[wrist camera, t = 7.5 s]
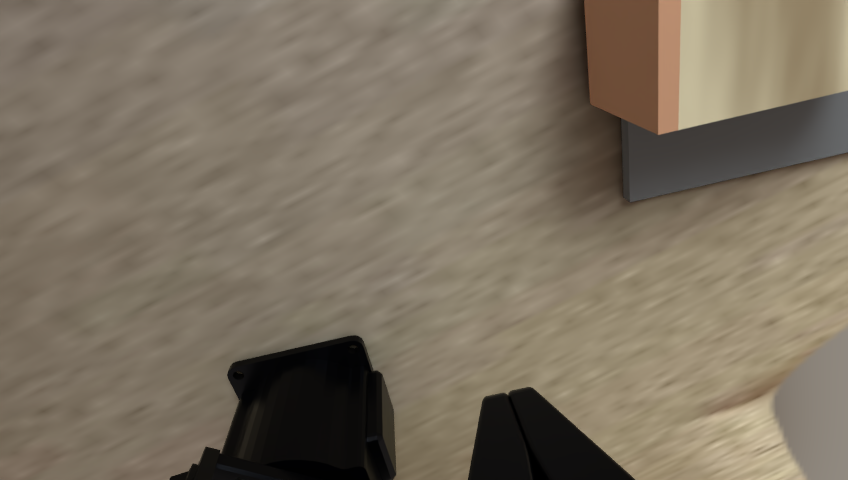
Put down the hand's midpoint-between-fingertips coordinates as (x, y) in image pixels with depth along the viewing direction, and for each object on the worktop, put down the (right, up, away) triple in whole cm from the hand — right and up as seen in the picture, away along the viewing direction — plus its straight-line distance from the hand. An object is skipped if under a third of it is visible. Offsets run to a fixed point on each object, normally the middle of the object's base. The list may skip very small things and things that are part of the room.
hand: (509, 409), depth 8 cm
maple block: (+5, +9, +7) cm, 13 cm away
